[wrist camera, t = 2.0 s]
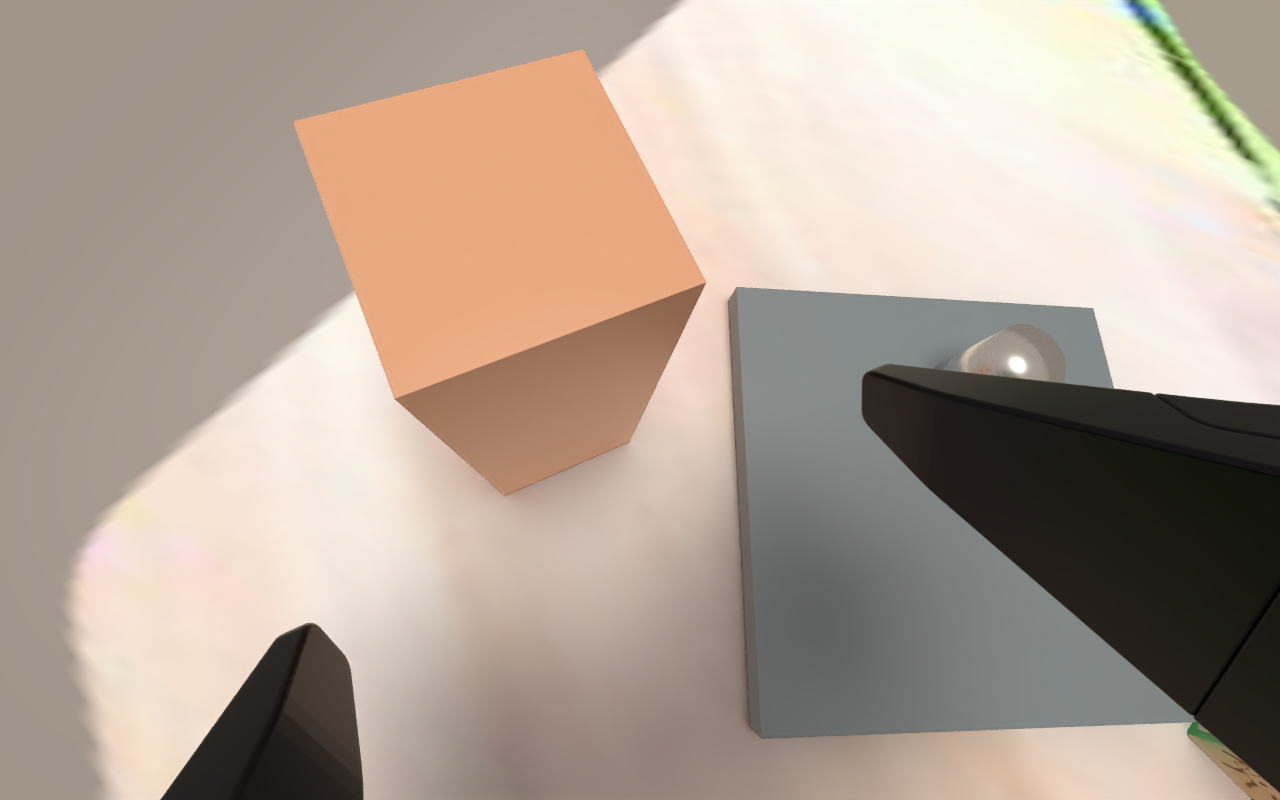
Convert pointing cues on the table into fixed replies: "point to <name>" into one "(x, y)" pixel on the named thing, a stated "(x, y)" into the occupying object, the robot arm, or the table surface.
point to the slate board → (893, 540)
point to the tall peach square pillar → (508, 261)
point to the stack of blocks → (1232, 765)
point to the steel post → (1013, 355)
